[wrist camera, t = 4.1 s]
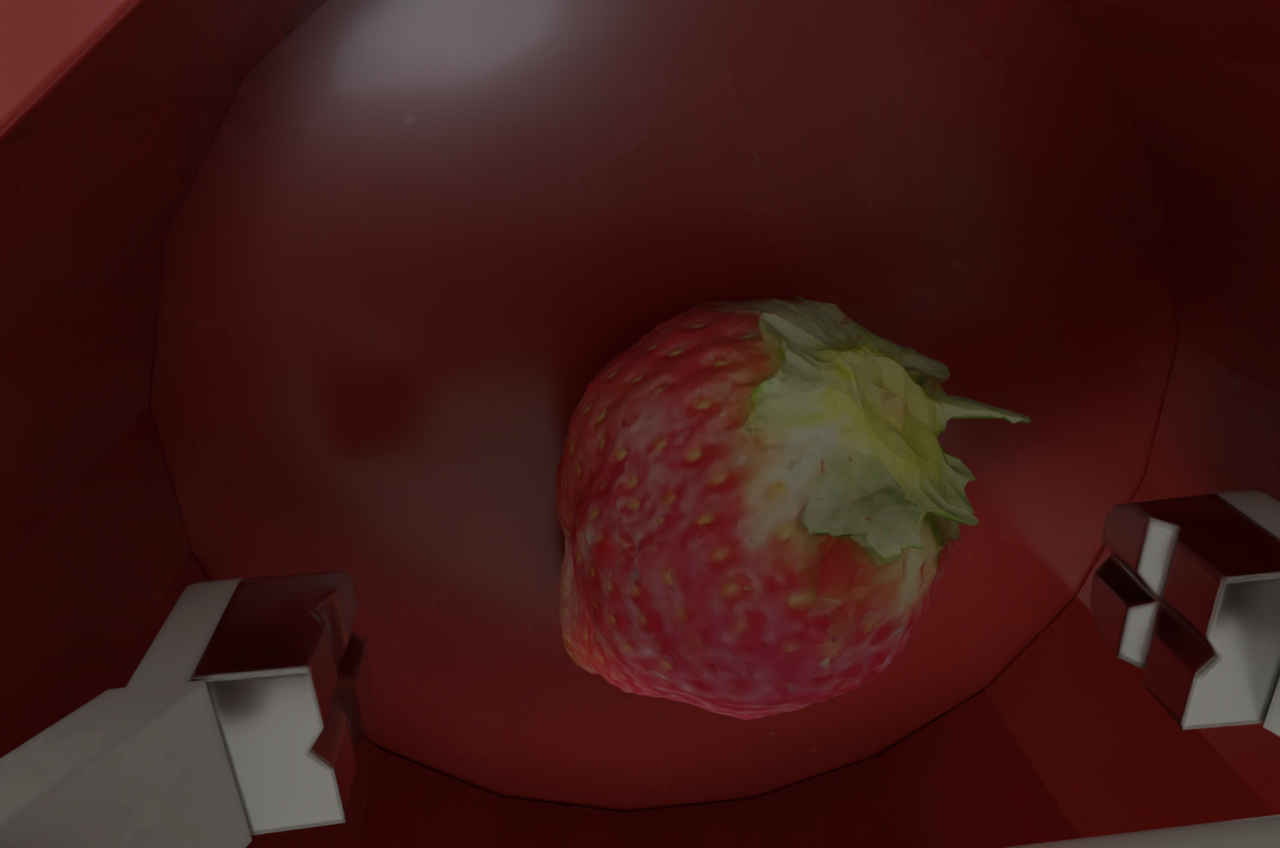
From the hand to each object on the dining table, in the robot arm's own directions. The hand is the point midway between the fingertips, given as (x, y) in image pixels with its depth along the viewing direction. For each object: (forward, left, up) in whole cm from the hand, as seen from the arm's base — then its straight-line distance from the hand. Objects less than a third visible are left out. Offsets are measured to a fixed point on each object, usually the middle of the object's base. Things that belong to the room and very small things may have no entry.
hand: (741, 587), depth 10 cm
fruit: (-1, 0, -3) cm, 3 cm away
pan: (-1, 0, -3) cm, 3 cm away
